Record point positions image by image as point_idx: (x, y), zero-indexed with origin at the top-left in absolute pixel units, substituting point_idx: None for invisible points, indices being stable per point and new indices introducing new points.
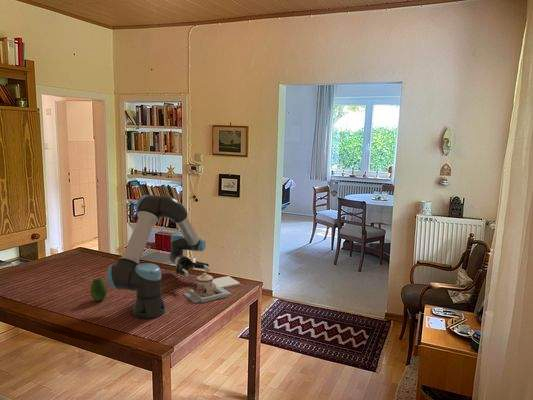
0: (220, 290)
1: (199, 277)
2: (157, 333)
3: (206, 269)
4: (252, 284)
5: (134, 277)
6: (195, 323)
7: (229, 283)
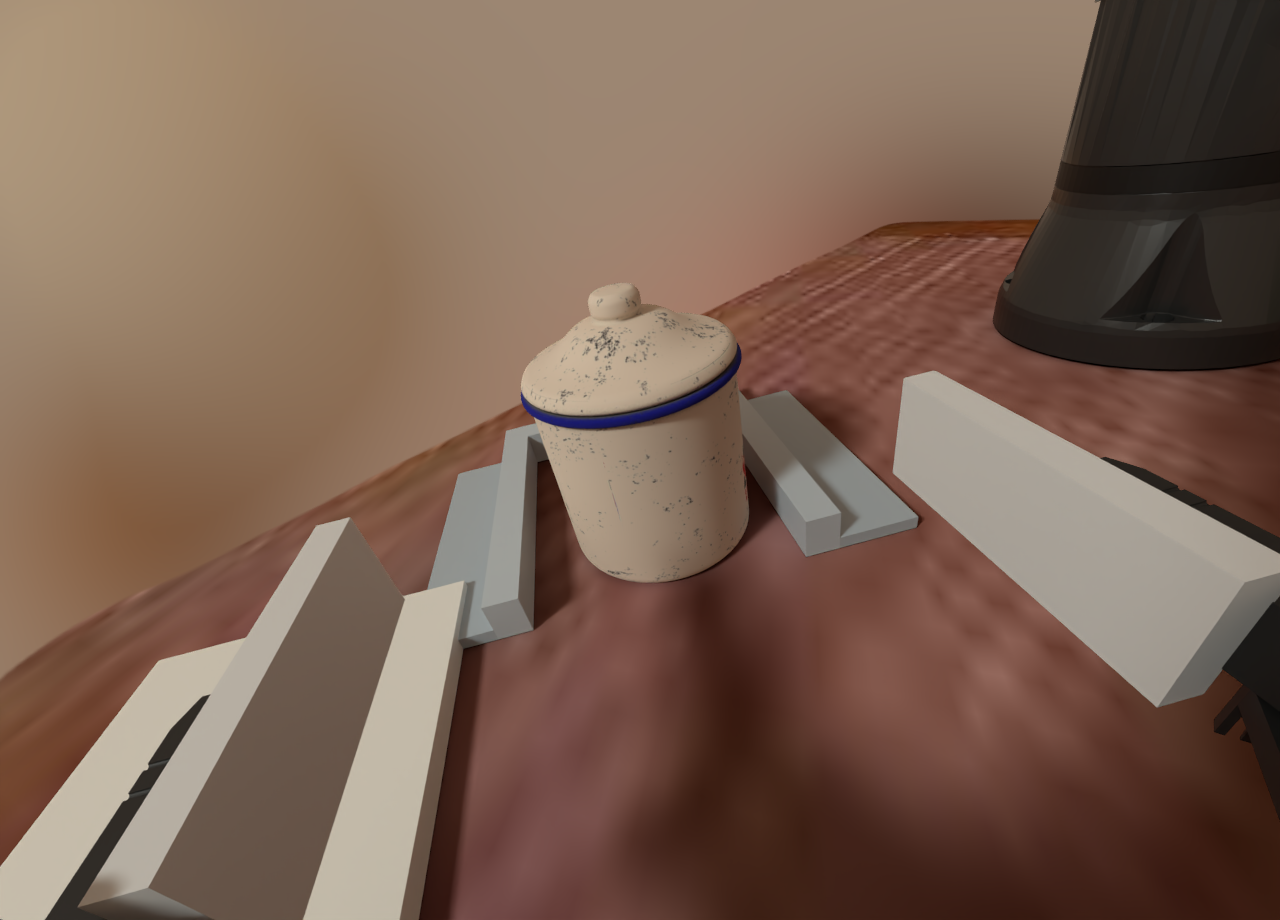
0: (519, 469)
1: (697, 325)
2: (949, 251)
3: (338, 690)
4: (100, 643)
5: None
6: (786, 291)
7: None
